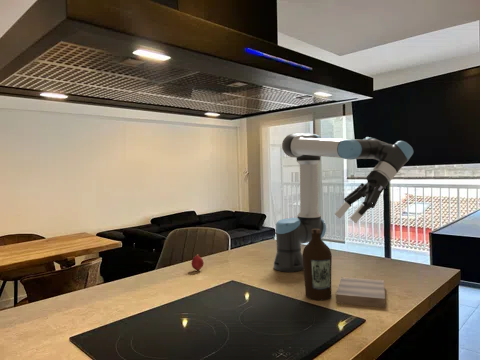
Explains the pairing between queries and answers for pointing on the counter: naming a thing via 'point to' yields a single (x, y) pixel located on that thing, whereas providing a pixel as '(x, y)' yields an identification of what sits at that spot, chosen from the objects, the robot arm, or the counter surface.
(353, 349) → the counter surface
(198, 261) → the onion
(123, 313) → the counter surface
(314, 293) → the olive oil
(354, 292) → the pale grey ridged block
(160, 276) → the counter surface
